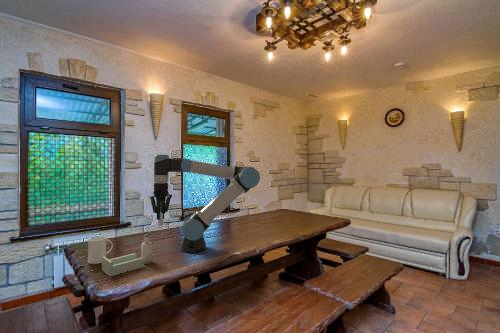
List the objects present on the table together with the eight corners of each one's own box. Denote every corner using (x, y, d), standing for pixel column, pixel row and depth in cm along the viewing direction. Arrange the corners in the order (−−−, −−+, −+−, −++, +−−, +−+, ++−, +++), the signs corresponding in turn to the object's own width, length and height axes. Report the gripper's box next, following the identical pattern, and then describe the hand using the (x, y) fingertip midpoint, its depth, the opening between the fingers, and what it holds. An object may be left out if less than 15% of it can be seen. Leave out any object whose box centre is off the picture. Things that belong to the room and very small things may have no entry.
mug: (111, 255, 147) (111, 234, 147) (114, 260, 141) (114, 238, 140) (86, 260, 140) (87, 237, 140) (88, 265, 134) (88, 241, 133)
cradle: (134, 261, 140) (134, 249, 140) (143, 266, 133) (143, 254, 133) (101, 270, 128) (101, 257, 128) (109, 276, 121) (110, 262, 121)
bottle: (148, 259, 143) (149, 233, 143) (153, 261, 140) (153, 234, 140) (139, 261, 139) (139, 234, 139) (143, 264, 136) (144, 236, 136)
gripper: (168, 181, 152) (167, 222, 153) (146, 182, 142) (145, 226, 143) (175, 182, 147) (174, 224, 147) (153, 183, 137) (152, 228, 138)
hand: (160, 225), depth 145 cm, fingers closed
